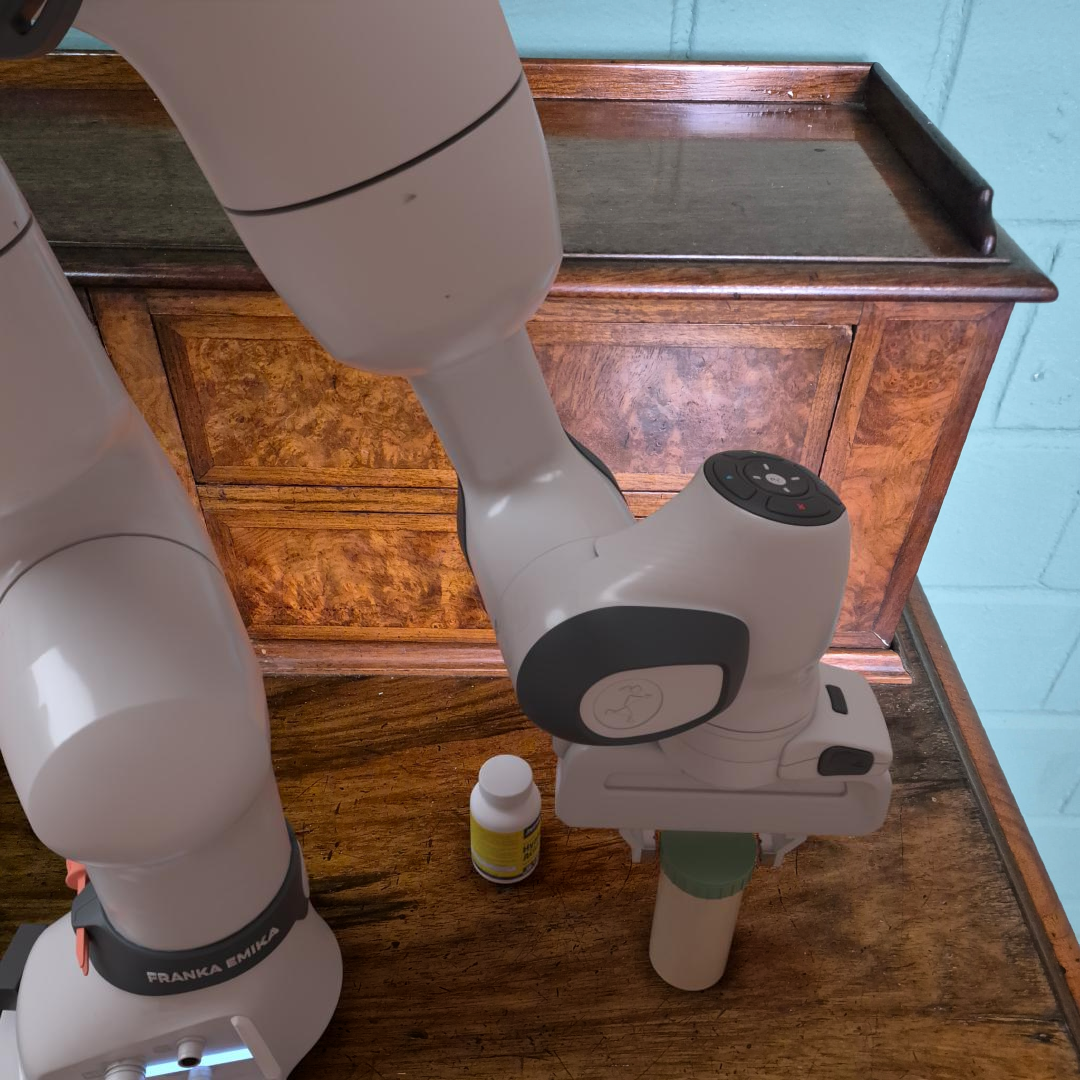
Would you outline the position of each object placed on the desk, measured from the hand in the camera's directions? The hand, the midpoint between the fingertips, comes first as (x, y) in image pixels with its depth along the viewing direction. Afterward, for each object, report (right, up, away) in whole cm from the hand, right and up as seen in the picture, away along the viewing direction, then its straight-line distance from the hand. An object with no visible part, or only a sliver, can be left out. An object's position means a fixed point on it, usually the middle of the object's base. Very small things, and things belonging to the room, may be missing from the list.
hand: (704, 856), depth 63 cm
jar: (0, -9, +6) cm, 11 cm away
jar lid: (0, +1, -2) cm, 2 cm away
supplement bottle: (-14, -4, +12) cm, 19 cm away
